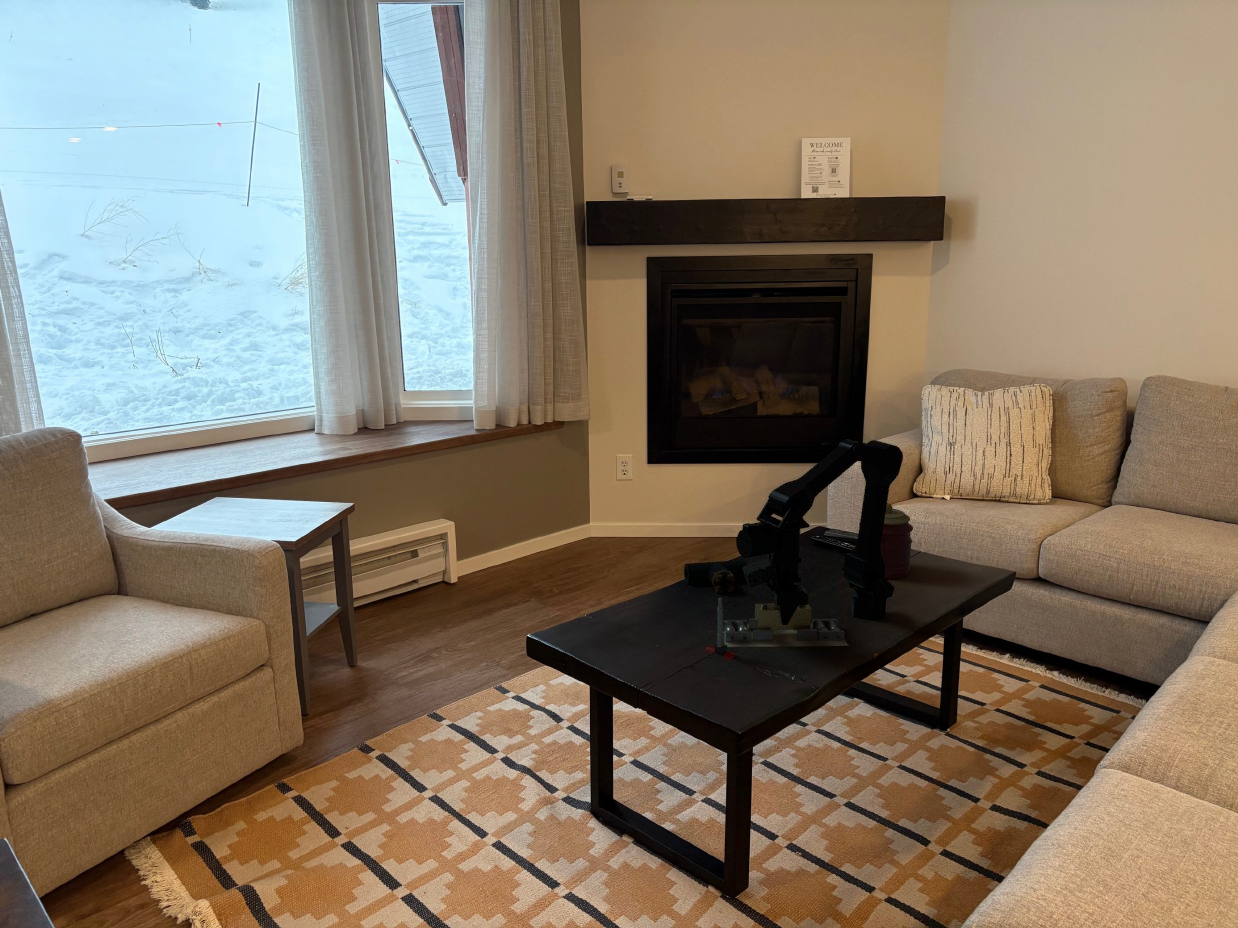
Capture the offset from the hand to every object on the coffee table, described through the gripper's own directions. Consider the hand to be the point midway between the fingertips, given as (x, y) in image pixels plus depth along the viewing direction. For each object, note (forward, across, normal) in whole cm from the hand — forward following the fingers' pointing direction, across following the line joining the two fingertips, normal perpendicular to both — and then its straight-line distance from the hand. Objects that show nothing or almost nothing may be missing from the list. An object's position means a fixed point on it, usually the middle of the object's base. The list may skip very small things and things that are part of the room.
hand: (783, 620), depth 186 cm
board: (+4, 0, 0) cm, 4 cm away
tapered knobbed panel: (+1, 0, 0) cm, 1 cm away
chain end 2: (+3, 0, +7) cm, 8 cm away
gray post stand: (+4, +11, -16) cm, 20 cm away
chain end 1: (+3, 0, -7) cm, 8 cm away
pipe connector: (+5, -31, -10) cm, 33 cm away
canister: (+4, -40, +33) cm, 52 cm away
